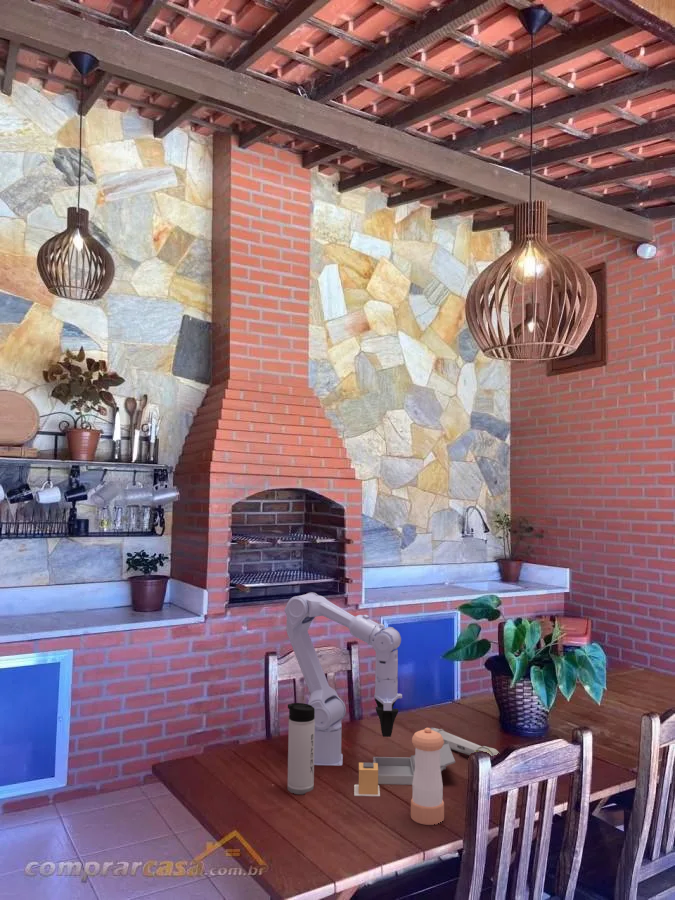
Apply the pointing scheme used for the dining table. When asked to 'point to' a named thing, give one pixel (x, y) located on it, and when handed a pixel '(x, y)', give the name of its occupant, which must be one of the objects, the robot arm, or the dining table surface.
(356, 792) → the mat
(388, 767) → the case
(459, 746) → the white elongated piece
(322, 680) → the robot arm
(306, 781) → the travel mug
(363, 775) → the block
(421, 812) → the pepper shaker
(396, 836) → the dining table surface
